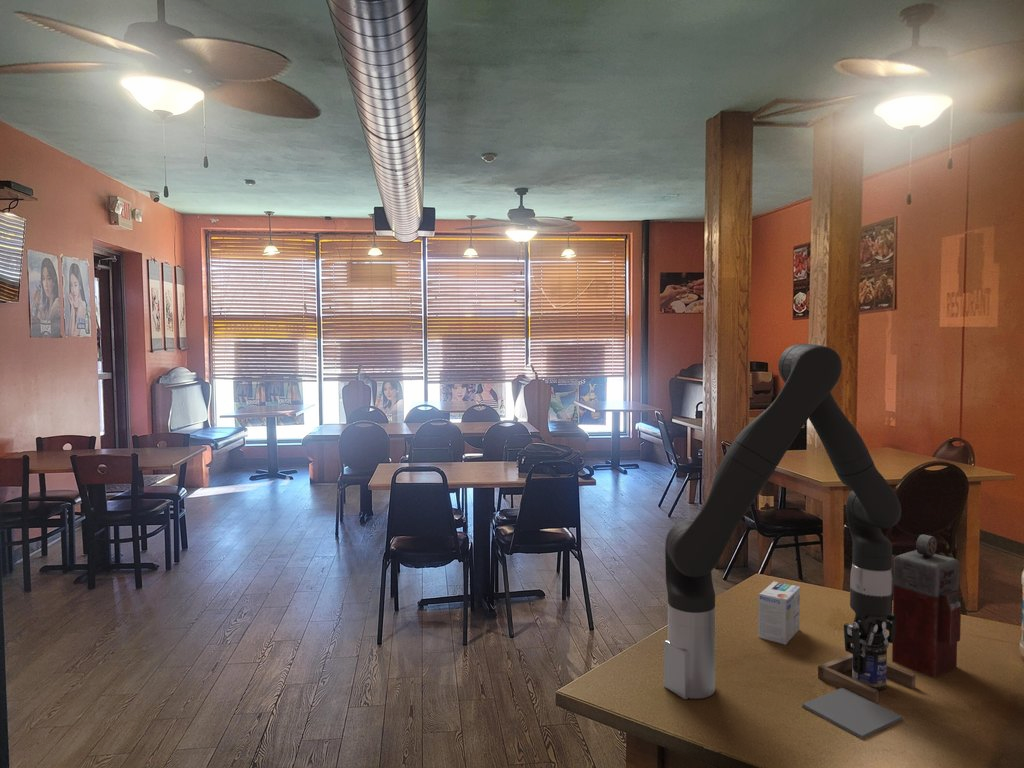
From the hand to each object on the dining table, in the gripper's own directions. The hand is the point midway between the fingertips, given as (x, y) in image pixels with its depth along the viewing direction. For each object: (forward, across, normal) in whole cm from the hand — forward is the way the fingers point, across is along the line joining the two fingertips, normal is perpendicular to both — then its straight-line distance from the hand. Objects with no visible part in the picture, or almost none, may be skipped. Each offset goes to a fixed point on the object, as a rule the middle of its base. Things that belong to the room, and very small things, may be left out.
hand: (869, 668), depth 135 cm
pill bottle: (+3, 0, 0) cm, 3 cm away
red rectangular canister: (+3, +18, -2) cm, 18 cm away
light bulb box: (+4, +4, +25) cm, 26 cm away
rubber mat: (+3, -13, -5) cm, 14 cm away
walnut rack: (+3, 0, 0) cm, 3 cm away
